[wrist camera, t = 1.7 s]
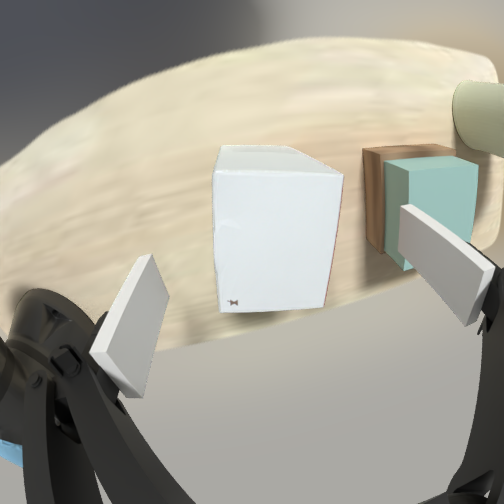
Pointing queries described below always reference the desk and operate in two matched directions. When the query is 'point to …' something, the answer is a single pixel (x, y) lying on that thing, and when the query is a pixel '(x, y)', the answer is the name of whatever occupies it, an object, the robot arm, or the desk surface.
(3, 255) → the desk surface
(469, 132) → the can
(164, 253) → the desk surface
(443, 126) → the desk surface
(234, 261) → the small box
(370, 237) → the bottom slab
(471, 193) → the top slab
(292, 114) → the desk surface
